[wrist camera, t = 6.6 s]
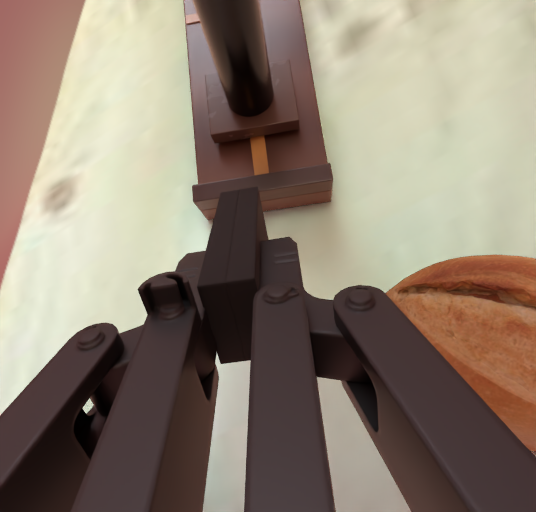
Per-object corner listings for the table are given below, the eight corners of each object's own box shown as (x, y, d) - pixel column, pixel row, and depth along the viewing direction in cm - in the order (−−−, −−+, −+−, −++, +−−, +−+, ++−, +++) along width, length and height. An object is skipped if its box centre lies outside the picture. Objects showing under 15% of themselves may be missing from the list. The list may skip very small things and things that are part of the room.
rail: (331, 201, 29) (333, 179, 25) (207, 220, 29) (193, 202, 26) (287, -56, 35) (284, -101, 31) (186, -35, 36) (172, -77, 32)
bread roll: (378, 249, 27) (402, 207, 20) (623, 304, 25) (761, 279, 17) (347, 393, 25) (361, 408, 18) (610, 469, 23) (760, 524, 15)
